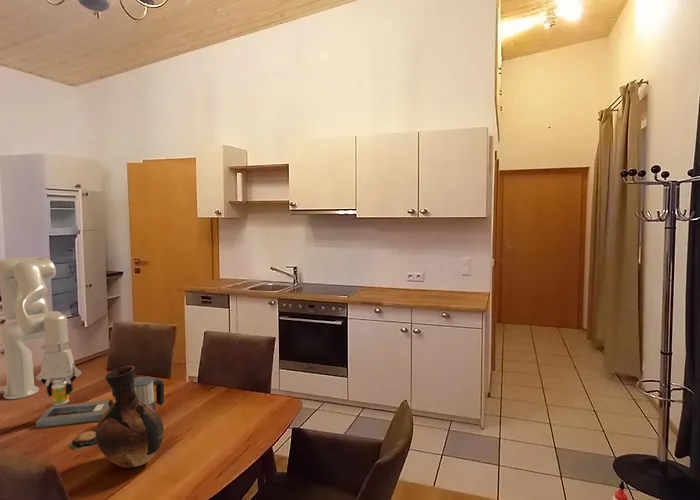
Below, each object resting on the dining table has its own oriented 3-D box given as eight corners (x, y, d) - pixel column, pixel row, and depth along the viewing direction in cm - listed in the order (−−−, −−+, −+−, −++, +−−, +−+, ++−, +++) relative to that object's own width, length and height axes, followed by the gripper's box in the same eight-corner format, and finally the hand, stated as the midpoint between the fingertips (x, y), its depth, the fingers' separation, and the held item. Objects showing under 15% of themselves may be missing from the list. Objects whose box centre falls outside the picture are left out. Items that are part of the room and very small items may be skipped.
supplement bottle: (55, 406, 171) (54, 381, 170) (50, 403, 174) (48, 378, 173) (71, 401, 175) (69, 377, 174) (65, 398, 178) (64, 374, 177)
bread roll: (75, 453, 150) (75, 442, 149) (67, 444, 155) (66, 434, 155) (110, 441, 158) (109, 430, 157) (101, 433, 163) (100, 423, 163)
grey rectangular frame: (36, 428, 167) (35, 421, 167) (51, 412, 180) (50, 406, 180) (102, 420, 172) (102, 414, 172) (112, 405, 186) (111, 399, 185)
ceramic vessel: (178, 456, 145) (173, 364, 143) (129, 486, 130) (124, 383, 128) (133, 442, 155) (128, 356, 153) (83, 468, 139) (77, 372, 137)
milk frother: (145, 425, 168) (143, 385, 167) (108, 421, 171) (106, 383, 170) (168, 408, 182) (166, 372, 181) (133, 406, 185) (131, 370, 184)
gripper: (26, 352, 167) (30, 400, 168) (79, 348, 171) (82, 395, 173) (35, 346, 174) (38, 393, 176) (85, 342, 178) (88, 388, 180)
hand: (60, 393), depth 174 cm, fingers closed on supplement bottle, 5 cm apart
